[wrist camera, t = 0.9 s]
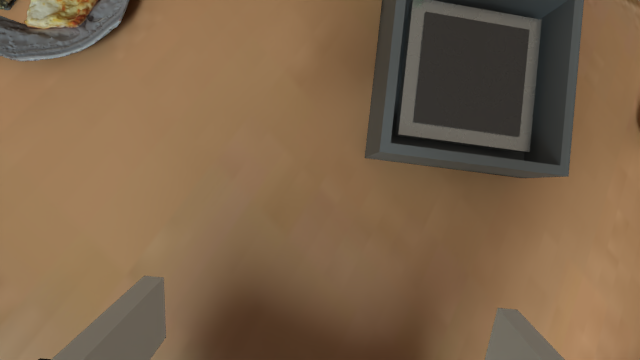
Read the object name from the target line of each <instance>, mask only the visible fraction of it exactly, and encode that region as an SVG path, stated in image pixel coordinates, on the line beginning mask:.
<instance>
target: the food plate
mask: <svg viewBox="0 0 640 360" xmlns="http://www.w3.org/2000/svg"><path fill="white" fill-rule="evenodd" d="M15 1H16V0H0V9H5V10H10V9H11V7H12V5H14V2H15ZM129 1H130V0H31V3H30V5H29V9H28V10H27V20H25V21H24V23H25V24H26V25H25V24H21V23H19V22H16V21H13V20H9V19H7V18H5V17H2V16H0V56H4V57H6V58H10V59H11V60H12V59H13V60H16V61H32V60H34V61H36V60H41V59H52V58H57V57H61V56H67V55H69V54H73V53H77V52H78V51H82V50H83V49H85V48H86V47H87V48H88V47H89V46H91V45H93V44H94V43H96V42H97V41H98V40H101V39H102V38H103V37H104V36H106V35H107V34H108V33H109V32H110V31H112V30H113V29H114V28H116V27H117V26H119V24H120V23H121V20H122V17H123V15H124V13H125V12H126V11H125V10H126V9H127V5H128V2H129ZM118 23H119V24H118Z"/></svg>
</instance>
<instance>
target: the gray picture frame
mask: <svg viewBox="0 0 640 360" xmlns="http://www.w3.org/2000/svg"><path fill="white" fill-rule="evenodd" d="M541 23H542V20H540V19H535V18H529V17H524V16H518V15H512V14H507V13H501V12H496V11H490V10H484V9H479V8H473V7H468V6H462V5H456V4H451V3H445V2H440V1H434V0H411V1H410V4H409V13H408V22H407V31H406V41H405V50H404V59H403V68H402V78H401V87H400V96H399V105H398V115H397V124H396V133H395V136H400V137H408V138H415V139H423V140H430V141H437V142H445V143H452V144H460V145H467V146H474V147H482V148H489V149H496V150H504V151H511V152H519V153H526V152H530V142H531V131H532V121H533V110H534V99H535V88H536V77H537V66H538V56H539V45H540V34H541Z"/></svg>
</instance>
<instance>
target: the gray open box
mask: <svg viewBox="0 0 640 360" xmlns="http://www.w3.org/2000/svg"><path fill="white" fill-rule="evenodd" d="M410 1H411V0H382V7H381V16H380V25H379V34H378V43H377V52H376V61H375V70H374V79H373V88H372V97H371V106H370V115H369V124H368V133H367V142H366V151H365V158H370V159H378V160H385V161H393V162H401V163H409V164H417V165H425V166H432V167H440V168H448V169H456V170H464V171H472V172H479V173H487V174H495V175H503V176H511V177H519V178H540V177H566V176H568V174H569V163H570V152H571V140H572V129H573V117H574V106H575V94H576V83H577V72H578V60H579V49H580V37H581V26H582V15H583V3H584V0H434V1H440V2H445V3H451V4H456V5H462V6H468V7H473V8H479V9H484V10H490V11H496V12H501V13H507V14H512V15H518V16H524V17H529V18H535V19H540V20H542V23H541V34H540V45H539V56H538V66H537V77H536V88H535V99H534V110H533V121H532V131H531V142H530V152H526V153H519V152H511V151H504V150H496V149H489V148H482V147H474V146H467V145H460V144H452V143H445V142H437V141H430V140H423V139H415V138H408V137H400V136H395V133H396V124H397V115H398V105H399V96H400V87H401V78H402V68H403V59H404V50H405V41H406V31H407V22H408V13H409V4H410Z"/></svg>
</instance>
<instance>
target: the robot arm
mask: <svg viewBox="0 0 640 360" xmlns="http://www.w3.org/2000/svg"><path fill="white" fill-rule="evenodd" d="M165 338H166V325H165V299H164V278H163V277H152V276H144V277H142V278H141V279H140V280H139V281H138V282H137V283H136V284H135V285H134V286H132V287H131V288H130V289H129V290H128V291H127V292H126V293H125V294H124V295H122V296H121V297H120V298H119V299H118V300H117V301H116V302H115V303H114V304H112V305H111V306H110V307H109V308H108V309H107V310H106V311H105V312H104V313H102V314H101V315H100V316H99V317H98V318H97V319H96V320H95V321H94V322H92V323H91V324H90V325H89V326H88V327H87V328H86V329H85V330H84V331H82V332H81V333H80V334H79V335H78V336H77V337H76V338H75V339H74V340H73V341H71V342H70V343H69V344H68V345H67V346H66V347H65V348H64V349H63V350H61V351H60V352H59V353H58V354H57V355H56V356H55V357H54V358H53V359H41V358H40V359H38V360H150V359H151V357H152V356H153V355H154V353H155V352H156V350H157V349H158V348H159V346H160V345H161V343H162V342H163V341H164V339H165ZM485 360H564V359H563V357H562V356H561V355H560V354H559V353H558V352H557V351H556V350H555V349H554V348H553V347H552V346H551V345H550V344H549V343H548V342H547V341H546V340H545V338H544V337H543V336H542V335H541V334H540V333H539V332H538V331H537V330H536V329H535V328H534V327H533V326H532V325H531V324H530V323H529V322H528V320H527V319H526V318H525V317H524V316H523V315H522V314H521V313H520V312H519V311H518V310H514V309H503V308H498V309H497V313H496V317H495V321H494V325H493V329H492V333H491V337H490V341H489V345H488V349H487V353H486V357H485Z"/></svg>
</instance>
